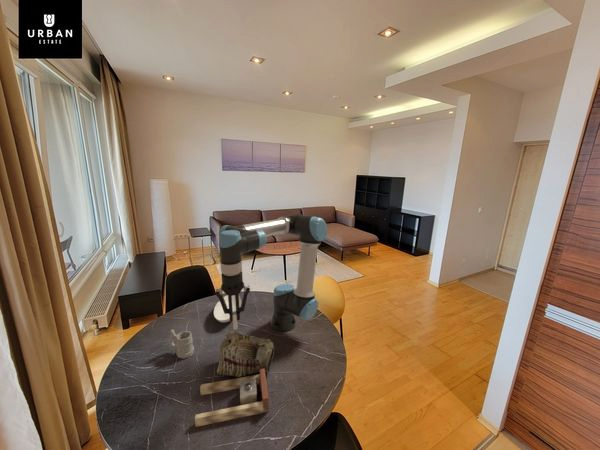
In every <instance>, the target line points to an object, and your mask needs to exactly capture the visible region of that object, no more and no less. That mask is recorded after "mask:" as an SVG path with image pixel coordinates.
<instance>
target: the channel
mask: <svg viewBox="0 0 600 450" xmlns="http://www.w3.org/2000/svg"><path fill="white" fill-rule="evenodd" d="M251 379H256V386H258V385H259V386H260V388H259V389H260V397H261V400H260V401H257V402H256V403H251V404H246V405H241V406H240V405H237V406H231V407H227V408H222V409H218V410H212V411H207V412H202V413H197V414H195V416H194V424H195V428H198V427H204V426H206V425H210V424H212V425H213V424H217V423H221V422H225V421H230V420H236V419H241V418H245V417H250V416H254V415H259V414H263V413H268V412H269V411H270V409H269V408H270V407H269V405H270V404H269V403H270V401H269V397H270V396H269V391H268V384H267V377H266V372H265V368H264V369H260V372H259V374H253V375H249V376H248V375H247V376H241V377H235V378H232V379H225V380H219V381H214V382H209V383H203V384H200V388H199V390H200V396H204V395H210V394H215V393H222V392H226V391H232V390H233V391H234V390H237V389H240V381H245V380H251Z"/></svg>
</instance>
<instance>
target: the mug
mask: <svg viewBox="0 0 600 450" xmlns="http://www.w3.org/2000/svg"><path fill="white" fill-rule="evenodd" d="M175 338H176V341H175V343H174V339H175ZM168 347H169V348H170V350H171V351H174V350H175V349H176V352H175V353H176V356H177V358H179V359H180V358H181V360H183V359H187V358H190V357H192V355H193V354H194V350H195V347H194V343H193V337H192V332H191V331H188V330H184V331H182V332H179V333H177V334H176V331H175V329H171V330H170V334H169V339H168Z"/></svg>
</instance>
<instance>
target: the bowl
mask: <svg viewBox="0 0 600 450" xmlns="http://www.w3.org/2000/svg"><path fill="white" fill-rule="evenodd" d="M223 297H224V300H225V303H226V305H227V308H228V309H229V302H228V295H225V296H223ZM241 304H242V299H241V296H240V295H239V307H241ZM232 308H233V311H236V301H235V295H233V296H232ZM213 309H214V310H213V316H214V318H215V320H216V321H218V322H219V323H228V322H230V316H229V314H225V313H224V311H223V308H222V306H221V303H220V300H219V301H217V303H216V304H215V306H214V308H213Z"/></svg>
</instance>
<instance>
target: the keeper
mask: <svg viewBox="0 0 600 450" xmlns="http://www.w3.org/2000/svg"><path fill="white" fill-rule="evenodd" d="M257 391H258V390H257V385H256V379H251V380H245V381H240V388H239V398H240V399H239V404H240V405H239V406H241V405H246V404H251V403H256V402H258V392H257Z"/></svg>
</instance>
